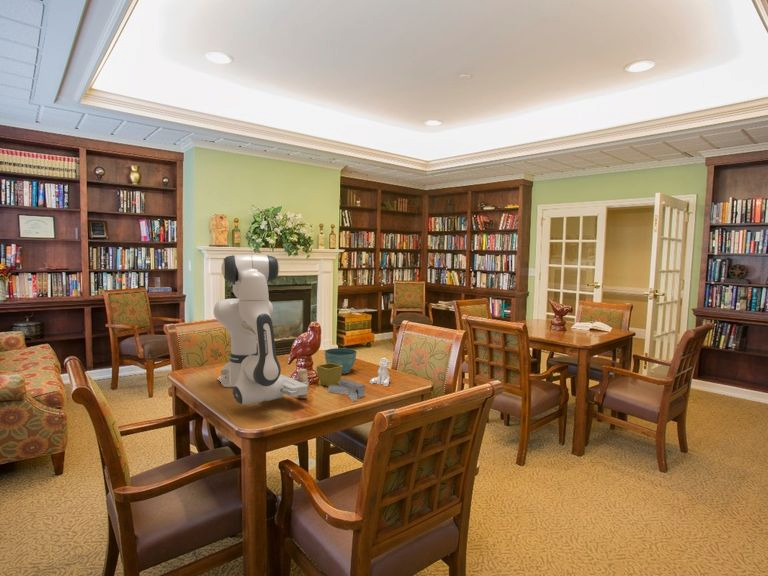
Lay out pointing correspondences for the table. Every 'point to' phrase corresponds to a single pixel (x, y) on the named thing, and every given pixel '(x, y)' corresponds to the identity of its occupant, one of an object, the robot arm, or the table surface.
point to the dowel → (302, 379)
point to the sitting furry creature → (382, 373)
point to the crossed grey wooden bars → (348, 389)
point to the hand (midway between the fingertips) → (304, 381)
